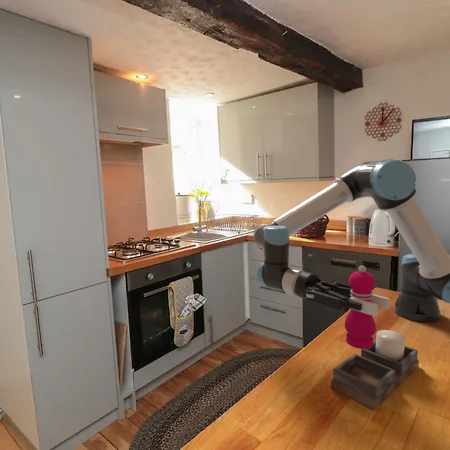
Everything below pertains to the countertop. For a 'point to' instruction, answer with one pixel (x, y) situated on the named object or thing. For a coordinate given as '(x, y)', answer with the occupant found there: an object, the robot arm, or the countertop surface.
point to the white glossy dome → (390, 345)
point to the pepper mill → (357, 321)
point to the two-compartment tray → (372, 375)
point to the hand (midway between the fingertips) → (382, 307)
